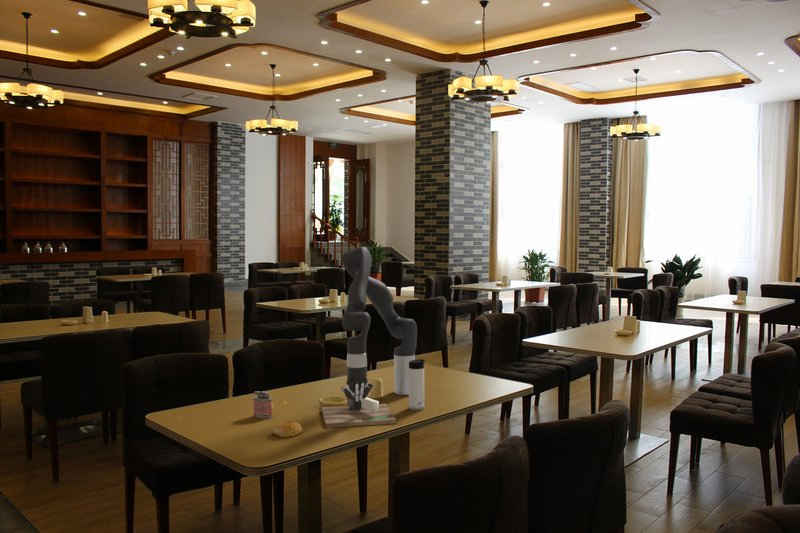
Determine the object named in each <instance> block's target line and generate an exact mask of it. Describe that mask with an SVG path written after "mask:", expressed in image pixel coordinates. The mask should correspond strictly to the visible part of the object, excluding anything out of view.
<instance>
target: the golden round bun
mask: <svg viewBox="0 0 800 533" xmlns="http://www.w3.org/2000/svg"><path fill="white" fill-rule="evenodd" d="M272 432H273V434H274V435H276V436H277V437H279V436H280V437H281V438H290V437H289V436H293V437H296V436H295V435H297V436H298V434H299V433H300V434H301V433H302V432H303V427H302V425H301V424H300V423H299V422H297V421H296V422H295V421H291V420H287V421H286V420H285V421H282V422H281V421H279V422H277V423H275V424H274V426H273V428H272ZM300 434H299V435H300Z"/></svg>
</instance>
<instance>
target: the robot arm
mask: <svg viewBox="0 0 800 533" xmlns="http://www.w3.org/2000/svg"><path fill="white" fill-rule="evenodd" d="M341 263H342V265H343V267H344V269H345V270H346V272H347V273H348V274H349V275H350V276H351V277H352V278H353V280H352V282H351V285H350V286H349V288H348V292H347V306H346V308H345V311H344V314H343V316H342V320H341V324H342V327H343V329H344V330H345V331H349V332H353V331H355V332H356V331H357V332H358V331H359V332H360V331H361V332H360V333H359V334H358V335H356V336H355V335H354V336H350V337H348V339H347V343H346V347H347V350H346V351H347V355H346V377H347V380H346V384H345V386H343V387H341V392H343V394H344V395H345V396H346V397H347V398H348V400H349V399H350V400H353V408H354V410H355V411H360V410H361V407H362V403H361V401H362V399H364V398H366V397H367V396H368V395H369V393H370V391H371V390H372V388H373V386H374V385H373V384H372V383H370V382H368V379H367V377H368V358H367V337H368V332H369V329H370V326H371V320H372V318H371V316H370V314H369V313H368V312H367V311H364V310H366V307H367V299H368V301H370V303H371V304H372V306H373V307H374V308H375V310H376V311H377V313H378V314H379V315H380V317H381V319H382V320H383V322H384V324H385V325H386V328H387V330H388V331H389V334H391V336H392V337H394V338H396V339H399V340H401V344H400V345H399V346H396V347H394V350H393V363H394V364H393V368H394V369H393V372H394V373H393V376H394V380H393V382H394V383H393V384H394V387H393V388H394V392H393V393H394V394H395V395H398V396H409V362H410V361H412V360H416V348H417V342H418V341H417V339H418V338H417V337H418V326H417V323H416V321H415V320H414V319H413V318H408V317H407V318H405V317H401V316H399V315H398V314H397V312H396V310H395V309H394V296H393V293H391V291H390V289H389V288H388V287H387V285H386V284H385V283H383V281H380V280H378V279H377V278H374V277H371V276H370V274H371V270H372V263H373V260H372V254H371V253H370V250H369V249H368V248H367V247H366V246H358V247H355V248H354V249H353V248H352V249H351V250H348V251H346V252H344V253H343V254H342V255H341ZM349 390H351V393H350V392H349ZM351 394H352V395H351ZM367 398H368V397H367Z"/></svg>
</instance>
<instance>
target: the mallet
mask: <svg viewBox="0 0 800 533" xmlns="http://www.w3.org/2000/svg"><path fill="white" fill-rule="evenodd" d="M349 392H350V393H351V390H350V389H349ZM351 395H352V394H351ZM361 403H362V407H361V408H364V409H366V410H369V411H371V412H373V413H378V412H379V404H380V402H379V400H375V399H372V398H370V397H366V398H364V399H362V401H361ZM348 406H349V409H352V410H354V408H353V400H350V399H348Z"/></svg>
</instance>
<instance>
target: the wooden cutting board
mask: <svg viewBox="0 0 800 533" xmlns="http://www.w3.org/2000/svg"><path fill="white" fill-rule="evenodd" d="M321 414H322V418H323V421H324V425H325V428H326V429H330V428H346V427H361V426H376V425H377V426H378V425H392V424H393V425H394V424H397V419H396V417H395V415H394V414H393V412H392V411H391V409H390V408H389V407H388V405H387V403H379V412H378V413H373V412H371V411H369V410H366V409H364V408H361V410H360V411H355V410H352V409H349V405H341V406H340V405H339V406H323V407H321Z"/></svg>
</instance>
